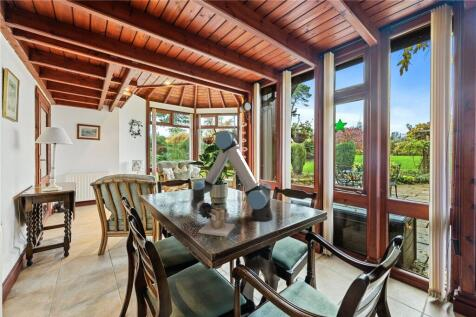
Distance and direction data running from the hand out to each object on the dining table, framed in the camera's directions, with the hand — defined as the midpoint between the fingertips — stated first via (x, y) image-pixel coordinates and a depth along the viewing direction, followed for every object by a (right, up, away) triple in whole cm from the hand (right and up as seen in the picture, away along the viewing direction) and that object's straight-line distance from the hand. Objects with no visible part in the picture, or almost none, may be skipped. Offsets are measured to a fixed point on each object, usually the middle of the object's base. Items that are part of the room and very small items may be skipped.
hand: (221, 217), depth 119 cm
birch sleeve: (-3, -7, +4) cm, 9 cm away
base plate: (-3, -8, +4) cm, 10 cm away
